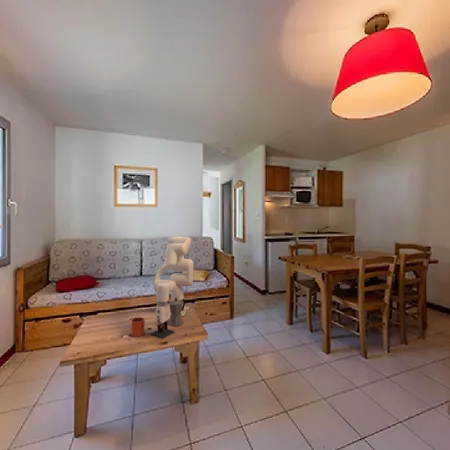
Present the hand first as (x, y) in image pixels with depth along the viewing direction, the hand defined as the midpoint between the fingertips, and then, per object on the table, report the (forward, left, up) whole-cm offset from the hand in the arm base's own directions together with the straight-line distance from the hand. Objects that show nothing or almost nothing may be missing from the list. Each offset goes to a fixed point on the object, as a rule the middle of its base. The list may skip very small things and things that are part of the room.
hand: (162, 330), depth 155 cm
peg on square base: (0, 0, -2) cm, 2 cm away
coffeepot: (-15, -7, -2) cm, 17 cm away
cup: (+12, -10, -2) cm, 16 cm away
